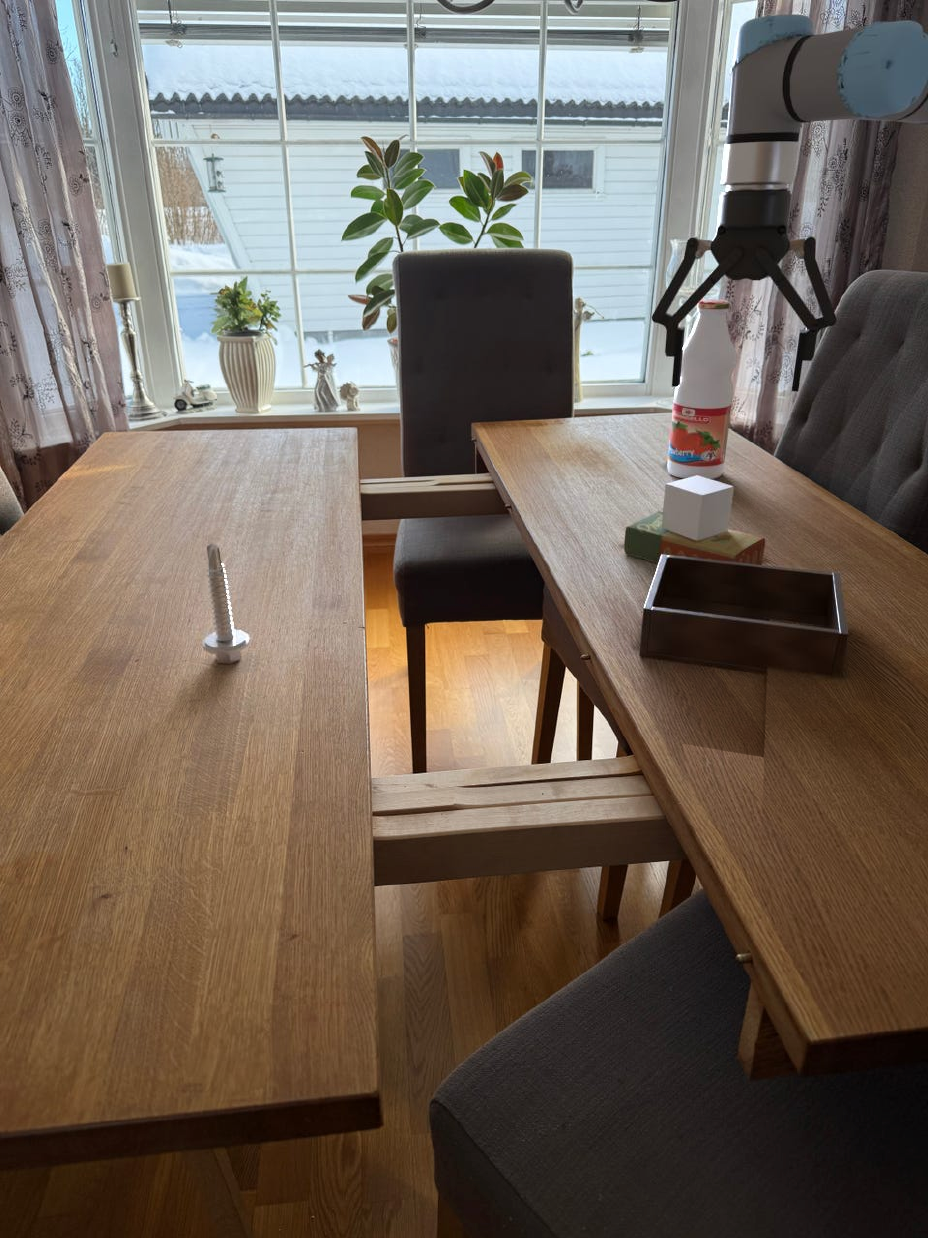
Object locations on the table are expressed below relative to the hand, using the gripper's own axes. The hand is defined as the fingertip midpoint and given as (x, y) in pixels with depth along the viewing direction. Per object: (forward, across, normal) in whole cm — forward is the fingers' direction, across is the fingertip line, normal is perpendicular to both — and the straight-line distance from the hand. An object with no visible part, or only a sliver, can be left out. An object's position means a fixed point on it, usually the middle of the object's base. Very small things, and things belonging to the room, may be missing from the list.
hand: (734, 387), depth 105 cm
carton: (+23, +3, -1) cm, 23 cm away
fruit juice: (+22, +6, -41) cm, 47 cm away
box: (+23, -4, +20) cm, 31 cm away
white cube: (+19, +3, -1) cm, 19 cm away
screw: (+23, +47, +41) cm, 66 cm away
